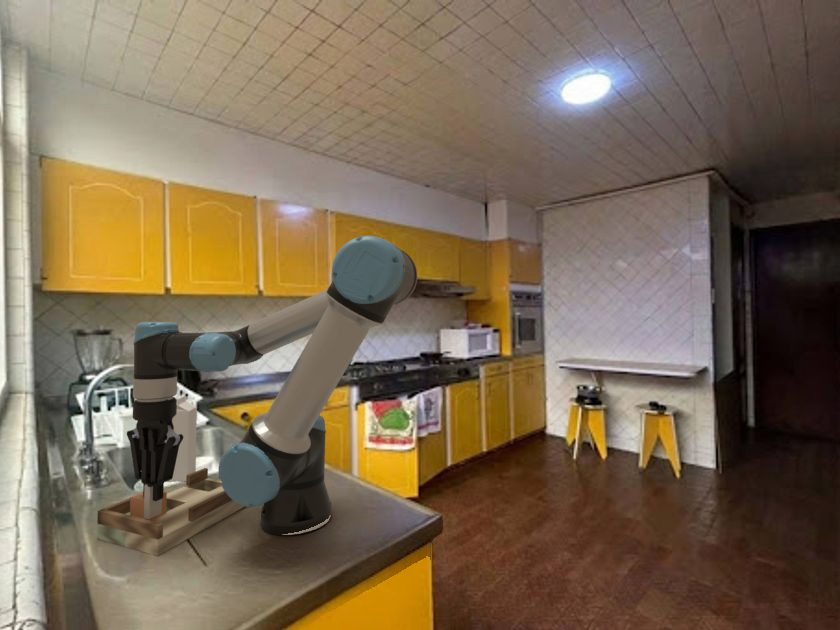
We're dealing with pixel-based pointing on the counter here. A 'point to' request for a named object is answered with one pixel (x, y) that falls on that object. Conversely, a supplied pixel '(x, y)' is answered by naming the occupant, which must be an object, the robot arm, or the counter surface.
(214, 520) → the box
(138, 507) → the block
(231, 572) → the counter surface
